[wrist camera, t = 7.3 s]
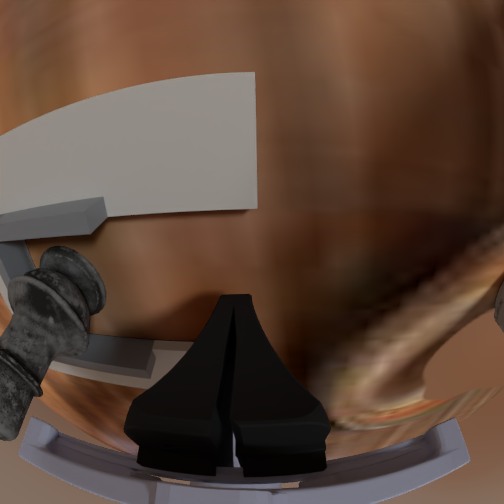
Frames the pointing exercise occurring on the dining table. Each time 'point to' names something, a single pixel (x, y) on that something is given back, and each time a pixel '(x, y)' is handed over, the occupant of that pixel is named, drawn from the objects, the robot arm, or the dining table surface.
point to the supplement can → (500, 307)
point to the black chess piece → (44, 327)
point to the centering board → (126, 185)
